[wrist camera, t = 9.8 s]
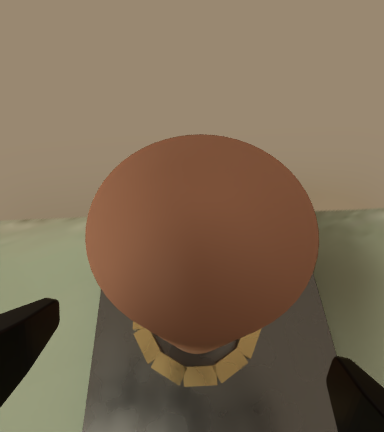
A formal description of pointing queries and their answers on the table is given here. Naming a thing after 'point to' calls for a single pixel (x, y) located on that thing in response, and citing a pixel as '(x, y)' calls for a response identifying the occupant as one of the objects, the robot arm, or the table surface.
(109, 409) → the plate
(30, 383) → the table surface
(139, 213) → the orange tapered capsule
